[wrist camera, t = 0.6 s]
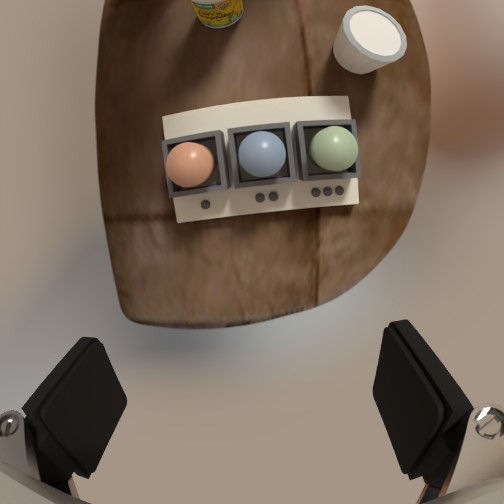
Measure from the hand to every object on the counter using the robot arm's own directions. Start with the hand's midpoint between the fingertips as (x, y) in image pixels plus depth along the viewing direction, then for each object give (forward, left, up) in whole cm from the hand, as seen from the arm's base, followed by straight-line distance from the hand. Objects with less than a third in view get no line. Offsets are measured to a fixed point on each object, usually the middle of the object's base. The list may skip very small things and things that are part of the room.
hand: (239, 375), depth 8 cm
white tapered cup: (-19, +14, -25) cm, 34 cm away
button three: (-7, +8, -21) cm, 24 cm away
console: (-7, +2, -25) cm, 26 cm away
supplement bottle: (-26, -1, -25) cm, 36 cm away
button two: (-7, +2, -21) cm, 22 cm away
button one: (-7, -5, -21) cm, 23 cm away
